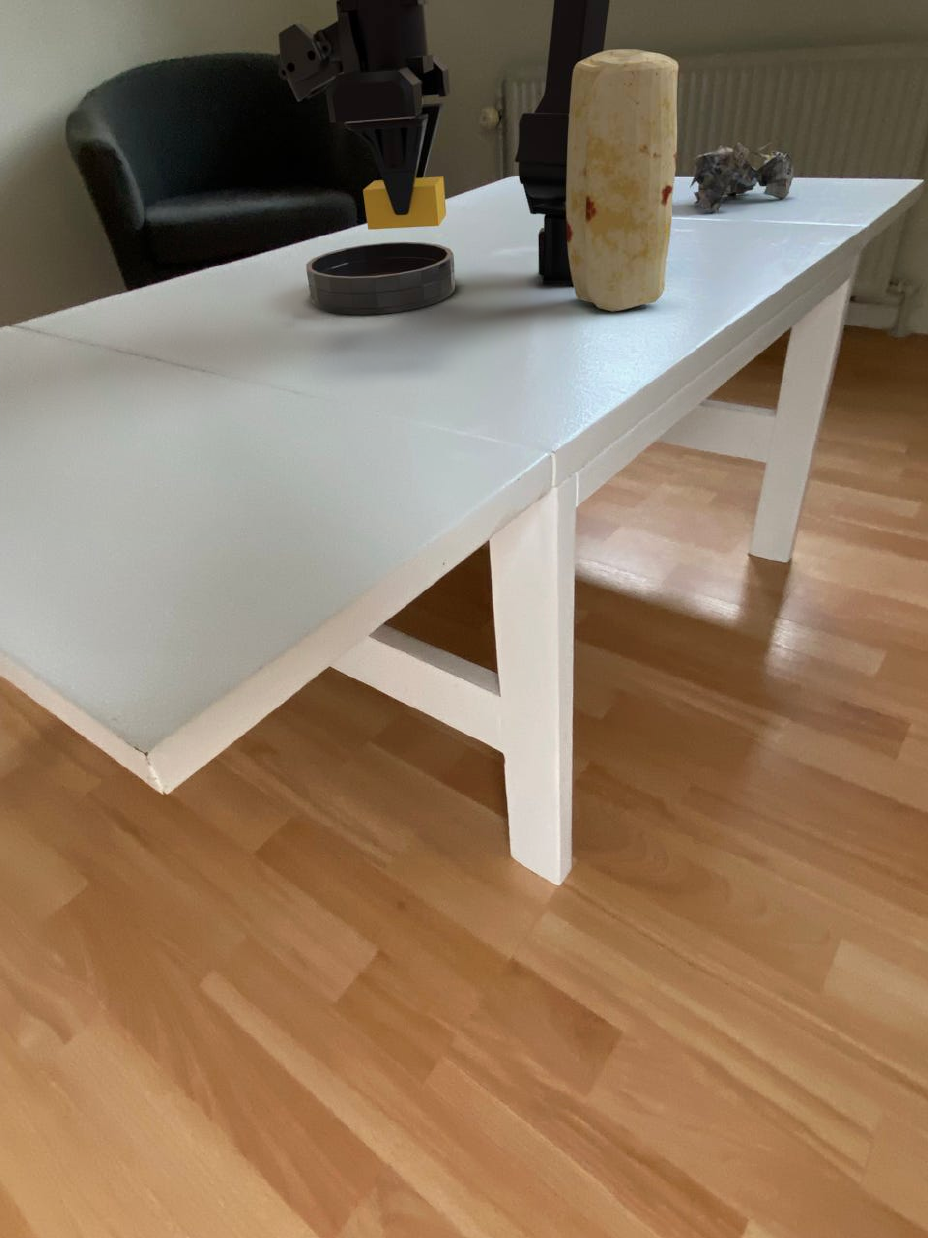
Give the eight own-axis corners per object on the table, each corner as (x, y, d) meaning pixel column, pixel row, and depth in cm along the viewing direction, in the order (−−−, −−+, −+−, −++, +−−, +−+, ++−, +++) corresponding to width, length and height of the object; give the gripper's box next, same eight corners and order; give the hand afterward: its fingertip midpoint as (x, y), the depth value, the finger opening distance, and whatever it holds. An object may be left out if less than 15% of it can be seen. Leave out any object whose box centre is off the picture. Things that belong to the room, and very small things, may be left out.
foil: (822, 176, 106) (736, 111, 101) (766, 253, 111) (681, 195, 106) (789, 160, 115) (708, 99, 110) (738, 232, 121) (659, 177, 115)
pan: (464, 272, 91) (462, 239, 89) (442, 313, 79) (439, 275, 77) (334, 277, 93) (329, 244, 91) (293, 316, 81) (286, 280, 79)
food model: (672, 297, 78) (693, 43, 66) (653, 317, 74) (672, 48, 62) (576, 291, 82) (580, 50, 70) (552, 310, 77) (552, 55, 66)
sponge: (446, 214, 70) (443, 175, 69) (438, 225, 67) (435, 185, 65) (378, 218, 71) (374, 180, 69) (368, 229, 68) (362, 189, 66)
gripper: (311, -15, 68) (341, 193, 77) (233, -20, 53) (282, 239, 62) (442, -28, 66) (457, 186, 75) (399, -36, 51) (424, 231, 61)
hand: (406, 208), depth 68 cm, fingers closed on sponge, 4 cm apart
